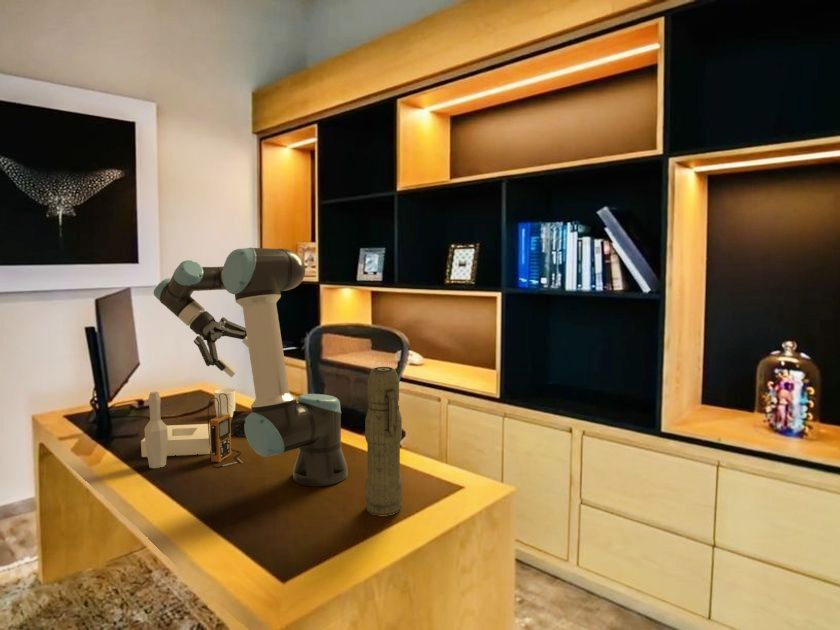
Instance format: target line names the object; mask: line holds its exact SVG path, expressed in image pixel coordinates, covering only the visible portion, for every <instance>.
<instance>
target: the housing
mask: <svg viewBox="0 0 840 630" xmlns="http://www.w3.org/2000/svg"><path fill="white" fill-rule="evenodd" d="M166 426H167V434H168V446H167V457H169V456H170V457H171V456H172V457H173V456H175V455H176V456H193V455H194V456H195V455H197V454H198V455H210V450H211V445H210V448H209V434H210V423H209V433H208V423H199V424H197V423H196V424H173V425H170V424H169V425H168V424H167V425H166ZM140 448H141V449H140V450H141V457H142V458H148V457H147V451H146V446H145V437H144V438H142V440H140ZM176 456H175V457H176Z"/></svg>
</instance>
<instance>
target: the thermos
mask: <svg viewBox="0 0 840 630" xmlns="http://www.w3.org/2000/svg"><path fill="white" fill-rule="evenodd" d="M397 372H398V371H397V370H396V369H395V368H393V367H390V366H376V367H373V368H372V369H371V370H370V372H369V375H368V378H367V402H368V404H367V412H366V415H365V418H364V419H365V421H364V423H365V427H364V428H365V431H364V432H365V433H364V435H365V441H366V443H367V478H366V481H365V501H366V507H365V508H366V509H367V510H366V511H368V512H369V514H370V513H371V514H370V515H372V514H375V515H389V514H393V513H396V512H398V511H399V510H400V509H401V510H402V500H403V481H402V479H401V474H400V473H401V447H400V446H401V441H402V440H403V439H402V438H403V435H402V432H403V430H402V429H403V423H402V422H403V421H402V420H403V418H402V414H401V412H400V405H399V401H400V379H399V376H398V373H397ZM368 512H367V513H368Z"/></svg>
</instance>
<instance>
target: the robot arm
mask: <svg viewBox="0 0 840 630" xmlns="http://www.w3.org/2000/svg"><path fill="white" fill-rule="evenodd" d="M305 265H306V264H305V261H304V260H303V259H302V257H301V256H300V255H299V254H298V253H297V252H295V251H293V250H291V249H289V248H288V249H287V248H266V247H265V248H264V247H263V248H262V247H245V248H243V247H242V248H237V249H234V250H232V251H231V252H230V253H229V254H228V255H227V257H226V259H225V261H224V265H223V266H201V264H200V263H198V262H196V261H193V260H192V259H191V260H189V259H186V260H182V261H181V262H180V263H179V265H178V266H177V267H176V268H175V270H174V272H173V274H172V276H171V278H170V277H168V278H167V277H166V278H165V279H163V280H162V281H160V282H159V283H158V284H157V285H156V287H155V288H154V290H153V296H154V297H155V298H156V299H157V300H158V301H159V302H160V303H161V304H162V305H163V306H165V307H166V308H167V309H168V310H169V311H170V312H171V313H172V314H173V315H175V316H176V317H177V318H178V319H179V320H180V321H182V323H184V324H185V325H186V327H187V326H189V329H190V330H191V331H192V332H193V333H194V334H196V335H197V336H195V339H194V340H193V343H194V344H195V345H196V347H198V348H197V349H198V350H199V352H200V354H201V356H202V359H203V361H204V363H205V365H206V366H207V367H210V366H212V367H214V366H215V367H216V368H217V369H219V371H223V372H225V374H227V375H228V376H229V377H230V378H233V377H234V376H235V374H236V373H237V371H236V370H235V369H234V368H233V367H231V366H230V365H229V364H228V363H227V362H226V361H225V360H224V359H222V357H221V358H219V357H218V352H217V345H216V342H217V341H218V340H219V339H221V338H222V337H228V338H233V339H238V340H242V341H241V342H242V343H243V344H244V345H245V346H246V347H247V348H248V353H249V360H250V361H249V362H250V367H251V373H252V381H253V386H254V387H253V388H254V393H255V400H254V401H253V402H252V404H251V405H250V408H251V409H250V410H251V411H252V413H251V414H250V415H249V416H247V417H246V420H245V424H244V430H245V435H246V436H245V438H246V440H247V443H248V445H249V446H250V448H251V449H252V450H253V452H255V453H256V454H257V455H259V456H261V457H263V458H264V457H265V458H266V457H267V458H268V457H273V456H279V455H282V454H283V453H287V452H290V451H293V450H297V449H298V453H297V456H296V459H295V464H294V466H293V468H292V469H293V471H292V478H293V481H294V482H296V484H299V485H301V486H307V487H324V486H331V485H336V484H338V483H341V482H342V481H344V480H345V479H346V478H347V477H348V475H349V474H348V464H347V461H346V459H345V456H344V453H343V450H342V437H341V436H342V435H341V434H342V433H341V432H342V431H341V429H342V423H341V422H342V418H341V417H342V411H341V401H340V400H339V399H338V398H337V397H335V396H334V395H329V394H320V393H306V394H300V395H298V397H295V396H294V395H293V394H291V392H290V389H289V382H288V374H287V366H286V361H285V355H284V354H285V353H284V349H283V340H282V335H281V327H280V320H279V313H278V307H277V303H278V301H279V300H280V299H281V297H282V295H281V292H284V291H291V290H292V289H295V288H296V287H298V286H299V285H300V284H301V283H302V282H303V280H304V279H305V275H306V266H305ZM222 290H223V291H224V290H225V291H227V292H228V293H229V294H231V295H234V298H235V299H234V300H235V303H236V304H238V305H239V306H240V307H241V308H242V311H243V317H244V319H243V320H244V326H242V325H239V324H237V323H235V322H233V321H230V320H228V318H226V317H223V316H222V317H221V318H220V320H219V321H217V320H216V319H215V317H214V316H213V315H212V314H211V313H209V312H208V310H205V308H204V307H203V306H202V305H201V304H200V303H199V302H198V301H197V300H195V299H194V298H193V297H192V294H193V293H194V292H200V291H201V292H202V291H222ZM205 341H206V343H205Z"/></svg>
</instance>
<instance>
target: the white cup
mask: <svg viewBox="0 0 840 630" xmlns="http://www.w3.org/2000/svg"><path fill="white" fill-rule="evenodd" d="M236 392H237V391H236V389H234V388H219V389H216V390H214V391H213V394H214V396H213V397H214V406H215V411H216V412H215V413H216V417H217V416H218V401H219V411H220V400H221V412H222V414H227V415H228V413H229V415H230V417H231V418H232V417H233V412H234V411H236V396H237V395H236ZM221 393H224V394H226V395H227V397H226V395H224V394H221ZM219 394H220V399H219ZM215 398H217V399H218V401H217V399H215ZM227 398H228V412H227Z"/></svg>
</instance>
